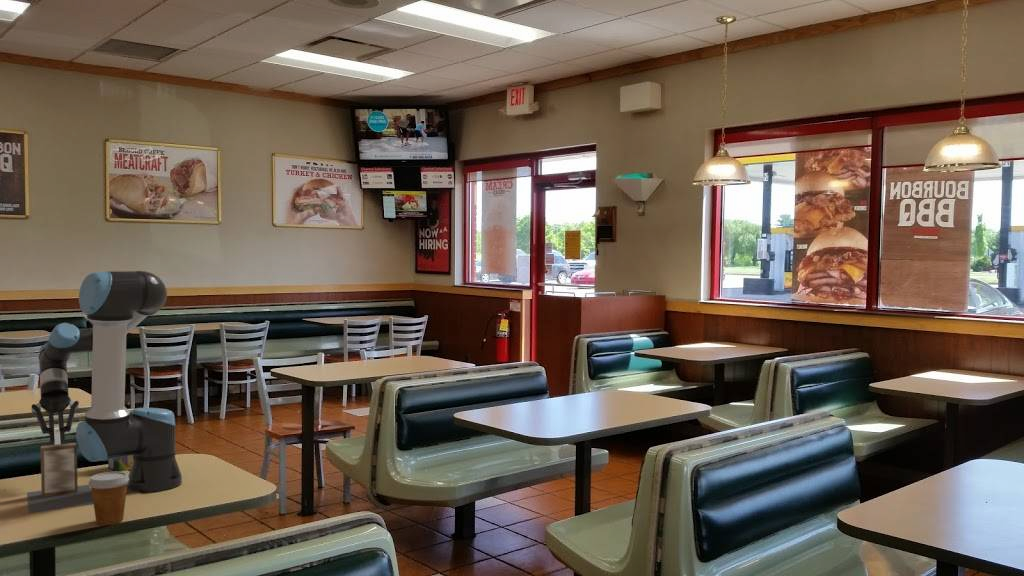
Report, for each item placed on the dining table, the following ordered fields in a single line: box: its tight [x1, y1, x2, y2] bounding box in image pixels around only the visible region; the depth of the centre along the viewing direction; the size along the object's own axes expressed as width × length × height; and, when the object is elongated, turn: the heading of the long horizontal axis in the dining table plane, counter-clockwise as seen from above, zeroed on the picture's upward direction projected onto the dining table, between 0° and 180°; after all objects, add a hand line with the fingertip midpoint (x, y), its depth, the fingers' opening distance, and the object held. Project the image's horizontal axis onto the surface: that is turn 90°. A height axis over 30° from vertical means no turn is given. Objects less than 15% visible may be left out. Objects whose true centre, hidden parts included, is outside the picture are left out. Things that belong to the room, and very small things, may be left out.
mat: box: [26, 484, 94, 514], centre depth 236 cm, size 16×22×1 cm
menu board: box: [40, 442, 79, 497], centre depth 240 cm, size 9×3×14 cm, turn 121°
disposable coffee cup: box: [88, 471, 129, 526], centre depth 217 cm, size 10×10×12 cm
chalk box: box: [107, 455, 133, 472], centre depth 270 cm, size 9×9×15 cm
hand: (57, 451), depth 245 cm, fingers closed
